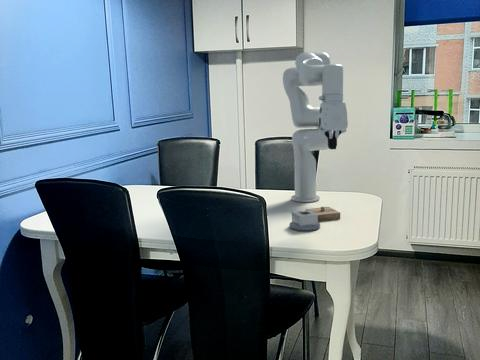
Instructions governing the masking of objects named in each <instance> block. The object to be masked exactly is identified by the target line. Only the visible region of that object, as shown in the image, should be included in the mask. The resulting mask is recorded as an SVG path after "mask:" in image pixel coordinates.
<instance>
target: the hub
mask: <svg viewBox="0 0 480 360" xmlns="http://www.w3.org/2000/svg"><path fill="white" fill-rule="evenodd" d="M320 228H321V223H320V221H318V225H316V226H307V227H298V226H297V225H295V224H294V223H292V221H291V222H289V229H290V230H293V231H296V232H314V231H318V230H319V229H320Z"/></svg>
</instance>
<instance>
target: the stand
mask: <svg viewBox="0 0 480 360" xmlns="http://www.w3.org/2000/svg"><path fill="white" fill-rule="evenodd" d="M305 210H310V211H312V212H314V213H316V214H318V222H325V221H333V220H341V211H338V210H336V209H334V208H332V207H330V206H320V207H313V208H312V207H311V208H305Z"/></svg>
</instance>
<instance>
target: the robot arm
mask: <svg viewBox="0 0 480 360" xmlns="http://www.w3.org/2000/svg"><path fill="white" fill-rule="evenodd" d="M294 61H295V66H294V67H290V68H289V67H288V68H286V69H285V70H284V72H283V74H282V85H283V88H284V91H285V93H286V95H287V98H288V101H289V107H290V113H291V119H292V122H293V126H294V127H295V128H297V130H296V131H294V132H293V134H292V137H291V143H292V148H293V156H294V157H293V158H294V194H293V195H291V198H290V199H291V200H292V201H293V202H297V203H313V202H318V201H320V195H318V194H317V160H316V158H315V156H314V155H313V154H312V153H311V152H312V151H313V152H314V151H324V150H336V149H337V147H338V138H339V137H340V135H341V134H343V133H346V132H347V128H348V127H349V126H348V122H349V121H348V112H347V111H348V110H347V105H346V102H344V66H343V65H342V64H338V63H337V64H336V63H335V64H334V63H333V64H331V58H330V55H329V54H328V53H327V52H323V51H310V52H308V51H306V52H302V53H300V54H298V55H297V56H296V58H295V60H294ZM315 86H316V87H317V86H321V95H320V96H318V100H319V101H321V103H320V105H319V106H318V105H317V106H311V105H310V102H309V101H310V100H309V96H308V94H306V92H305V91H304V90H303V89H302V88H300V87H315Z"/></svg>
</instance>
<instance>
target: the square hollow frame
mask: <svg viewBox="0 0 480 360" xmlns="http://www.w3.org/2000/svg"><path fill="white" fill-rule="evenodd" d="M291 222H292V223H294V224H295V225H297V226H298V227H307V226H316V225H318V222H319V221H318V214H316V213H314V212H312V211H310V210H306V209H305V210H298V211H297V210H296V211H291Z"/></svg>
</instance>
